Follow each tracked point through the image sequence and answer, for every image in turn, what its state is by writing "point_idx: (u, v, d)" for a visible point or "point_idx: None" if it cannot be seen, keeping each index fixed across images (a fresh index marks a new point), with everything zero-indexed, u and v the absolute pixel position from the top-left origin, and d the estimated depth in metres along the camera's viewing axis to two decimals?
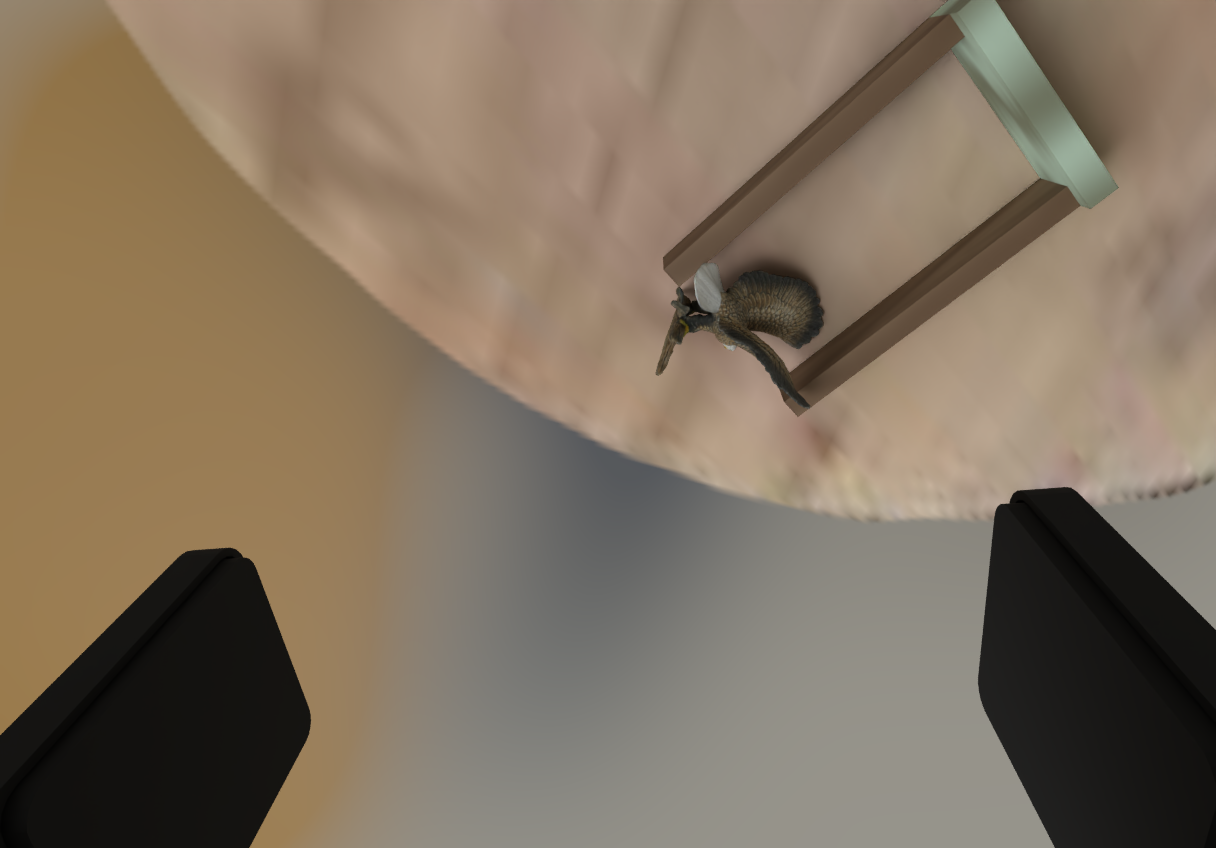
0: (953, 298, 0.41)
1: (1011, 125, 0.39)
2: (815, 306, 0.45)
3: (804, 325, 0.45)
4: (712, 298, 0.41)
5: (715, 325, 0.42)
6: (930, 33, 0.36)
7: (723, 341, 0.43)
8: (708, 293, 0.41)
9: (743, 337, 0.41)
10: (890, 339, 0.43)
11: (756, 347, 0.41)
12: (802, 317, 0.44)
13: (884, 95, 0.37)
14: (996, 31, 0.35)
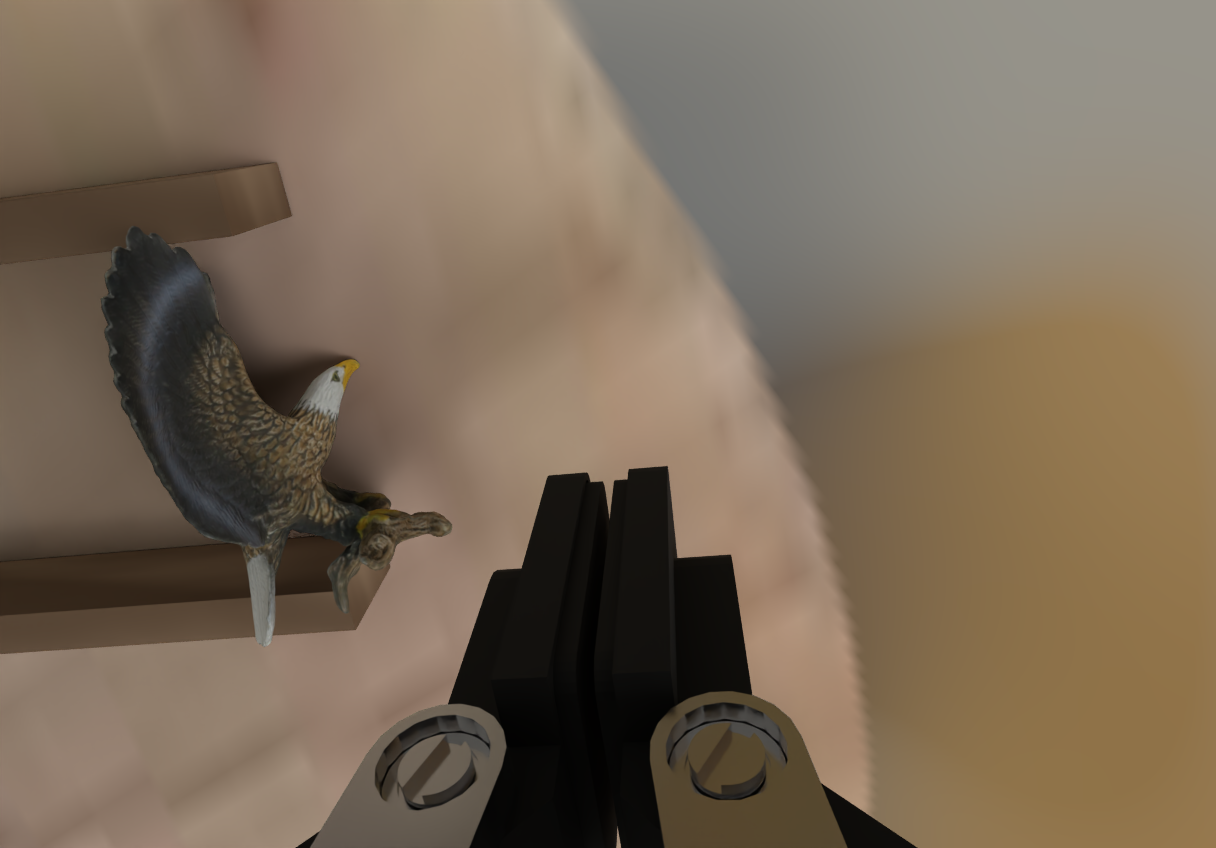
0: None
1: None
2: None
3: None
4: (257, 584, 0.19)
5: (289, 517, 0.18)
6: None
7: (307, 450, 0.19)
8: (258, 599, 0.19)
9: None
10: None
11: None
12: None
13: None
14: None
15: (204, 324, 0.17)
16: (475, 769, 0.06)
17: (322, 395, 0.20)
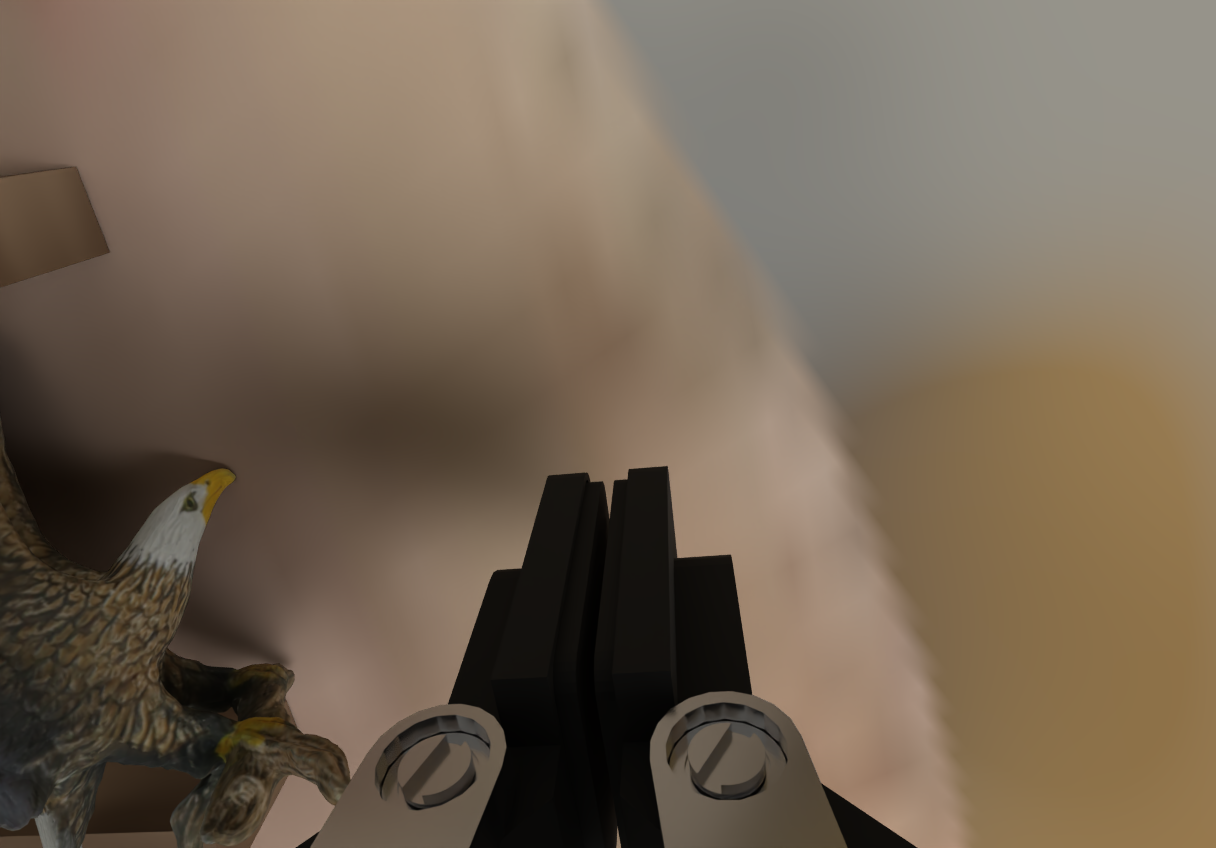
0: None
1: None
2: None
3: None
4: None
5: (96, 749, 0.11)
6: None
7: (129, 635, 0.12)
8: None
9: None
10: None
11: None
12: None
13: None
14: None
15: None
16: (475, 769, 0.06)
17: (164, 537, 0.12)
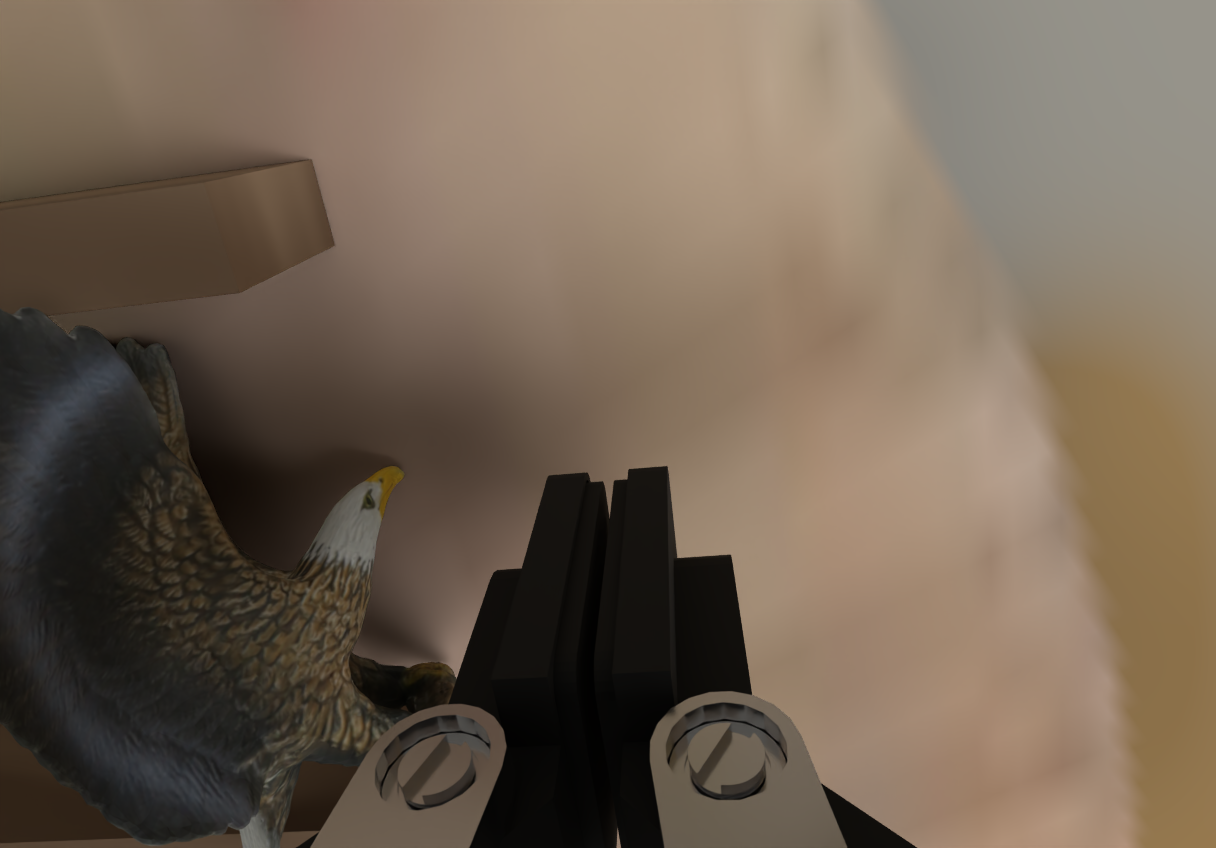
0: None
1: None
2: None
3: None
4: None
5: (299, 748, 0.11)
6: None
7: (326, 634, 0.12)
8: None
9: (153, 783, 0.10)
10: None
11: (93, 762, 0.09)
12: None
13: None
14: None
15: (136, 457, 0.10)
16: (475, 769, 0.06)
17: (348, 535, 0.12)
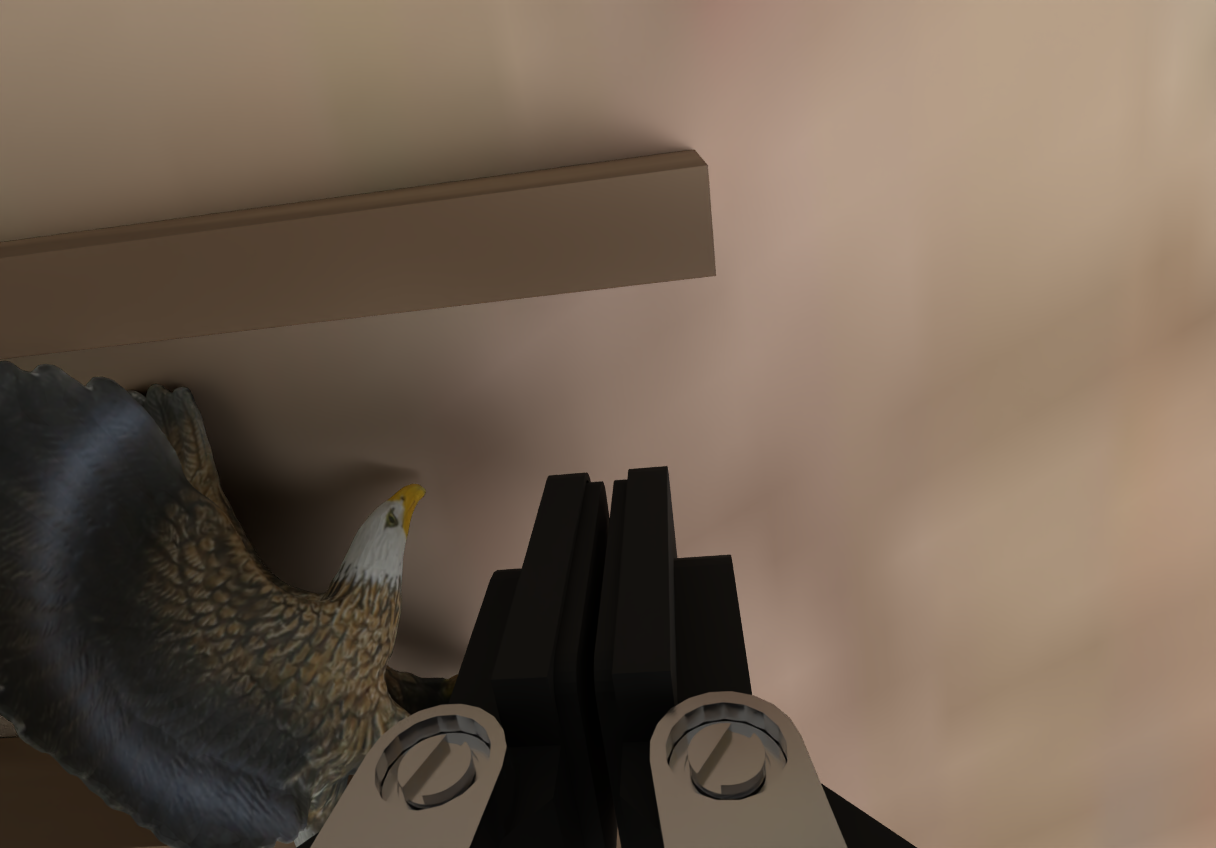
0: None
1: None
2: None
3: None
4: None
5: (342, 763, 0.12)
6: None
7: (359, 650, 0.12)
8: None
9: (202, 803, 0.10)
10: (177, 268, 0.10)
11: (143, 786, 0.10)
12: None
13: None
14: None
15: (160, 496, 0.10)
16: (475, 769, 0.06)
17: (373, 553, 0.13)
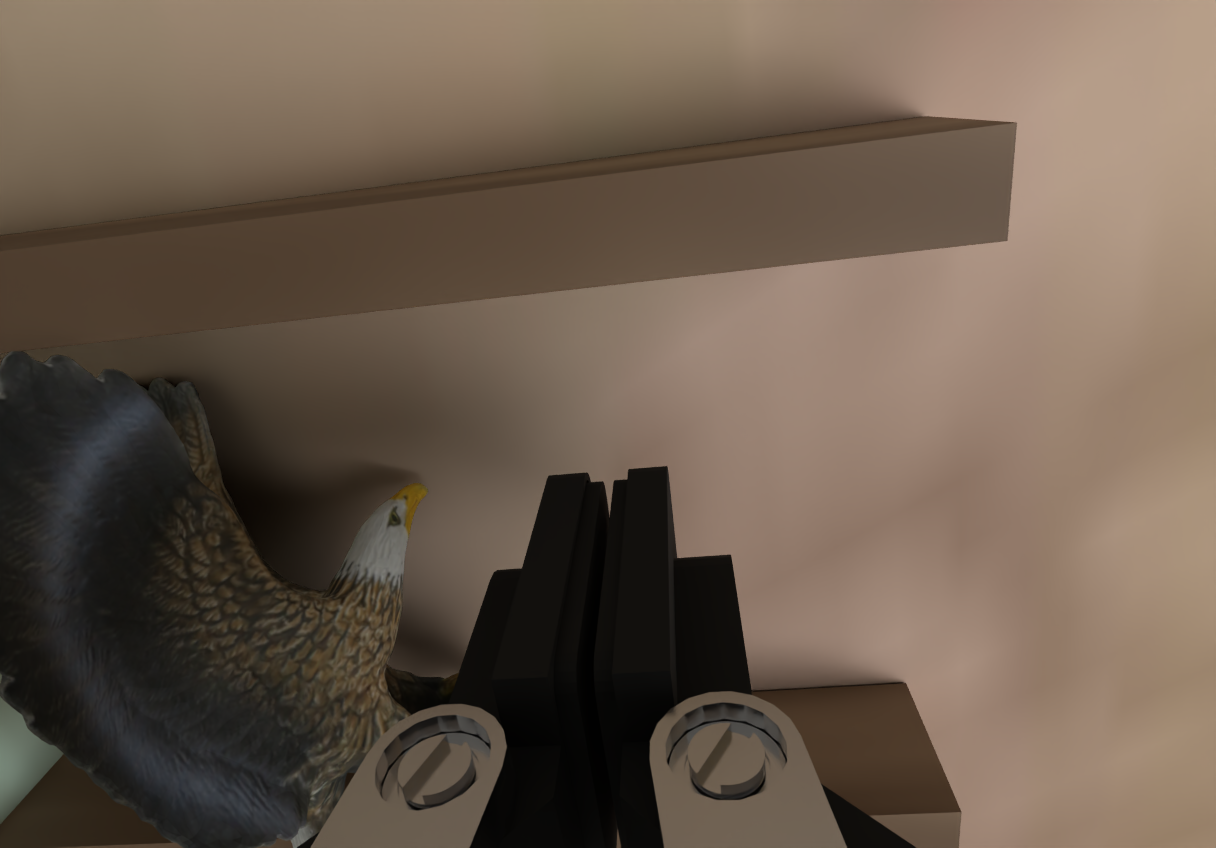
0: (131, 242, 0.09)
1: None
2: None
3: None
4: None
5: (342, 761, 0.12)
6: None
7: (360, 648, 0.12)
8: None
9: None
10: (434, 231, 0.09)
11: (146, 780, 0.10)
12: None
13: None
14: None
15: (169, 490, 0.10)
16: (475, 769, 0.06)
17: (376, 552, 0.13)
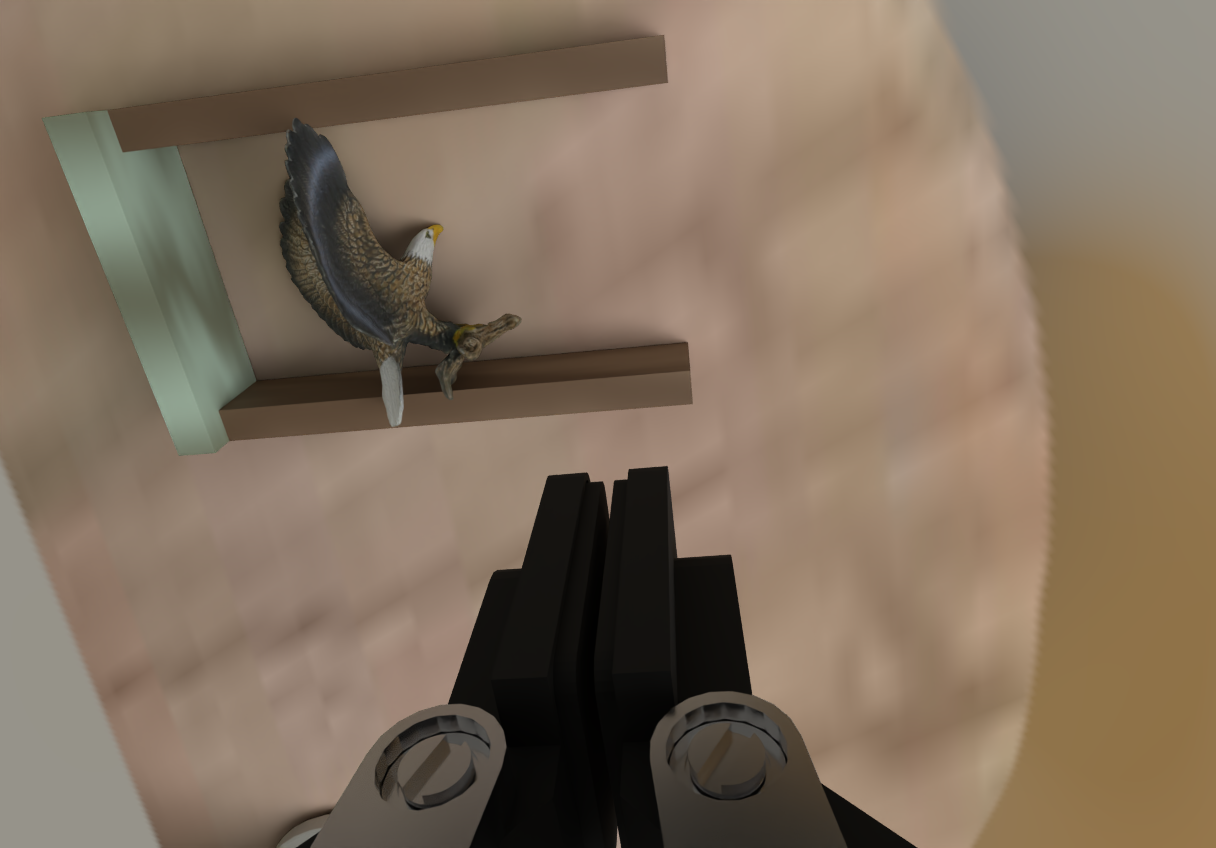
0: (324, 84, 0.24)
1: (195, 254, 0.28)
2: (286, 222, 0.28)
3: None
4: (389, 380, 0.26)
5: (406, 329, 0.26)
6: (255, 436, 0.29)
7: (414, 283, 0.26)
8: (390, 391, 0.26)
9: None
10: (446, 79, 0.23)
11: None
12: (300, 231, 0.27)
13: (326, 412, 0.29)
14: (176, 409, 0.28)
15: (341, 189, 0.24)
16: (475, 769, 0.06)
17: (420, 247, 0.27)
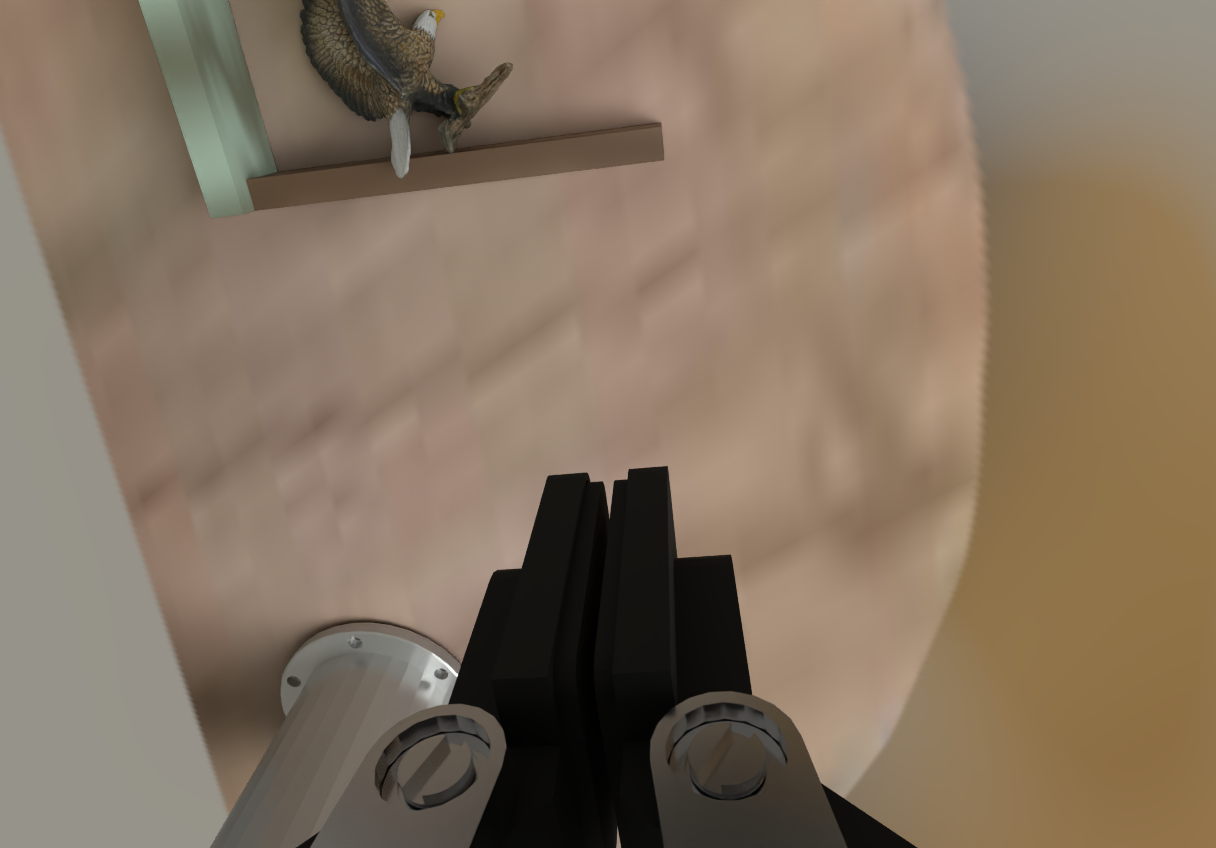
0: None
1: (226, 38, 0.32)
2: (306, 9, 0.32)
3: None
4: (398, 131, 0.30)
5: (413, 86, 0.30)
6: (277, 205, 0.33)
7: (420, 47, 0.30)
8: (399, 141, 0.30)
9: None
10: None
11: None
12: (319, 10, 0.31)
13: (341, 178, 0.32)
14: (209, 171, 0.32)
15: None
16: (474, 769, 0.06)
17: (424, 22, 0.31)
